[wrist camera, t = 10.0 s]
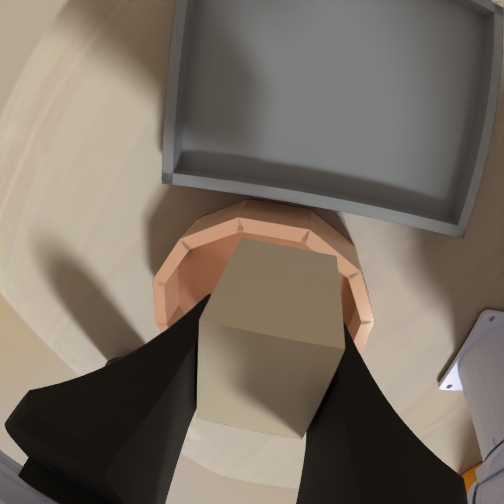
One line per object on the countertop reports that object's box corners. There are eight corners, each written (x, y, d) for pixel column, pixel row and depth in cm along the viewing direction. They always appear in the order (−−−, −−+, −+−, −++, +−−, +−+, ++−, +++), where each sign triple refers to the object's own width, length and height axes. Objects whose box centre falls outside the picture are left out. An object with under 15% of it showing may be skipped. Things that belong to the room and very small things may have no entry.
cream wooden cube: (240, 236, 11) (199, 319, 7) (336, 255, 10) (345, 348, 7) (229, 328, 13) (197, 418, 9) (309, 344, 12) (301, 439, 8)
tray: (488, 13, 10) (503, 7, 8) (451, 225, 16) (463, 238, 14) (197, -43, 11) (185, -54, 10) (175, 174, 18) (161, 183, 16)
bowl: (389, 224, 17) (401, 247, 14) (335, 377, 23) (335, 406, 20) (171, 187, 18) (149, 203, 16) (174, 345, 24) (161, 371, 21)
